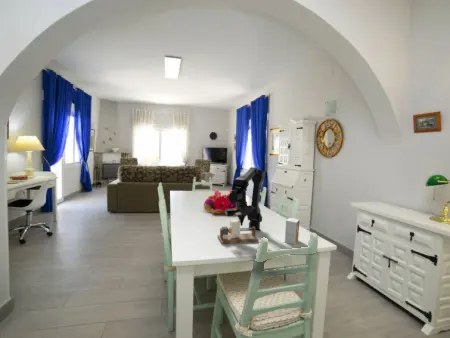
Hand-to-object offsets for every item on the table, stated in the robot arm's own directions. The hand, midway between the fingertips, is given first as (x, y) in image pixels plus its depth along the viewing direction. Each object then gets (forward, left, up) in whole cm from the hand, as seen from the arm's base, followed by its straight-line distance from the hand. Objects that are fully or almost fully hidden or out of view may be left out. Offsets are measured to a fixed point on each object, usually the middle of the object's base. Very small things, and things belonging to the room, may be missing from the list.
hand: (241, 225), depth 140 cm
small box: (-29, +8, -9) cm, 31 cm away
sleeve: (+4, 0, -5) cm, 6 cm away
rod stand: (+2, 0, -9) cm, 9 cm away
